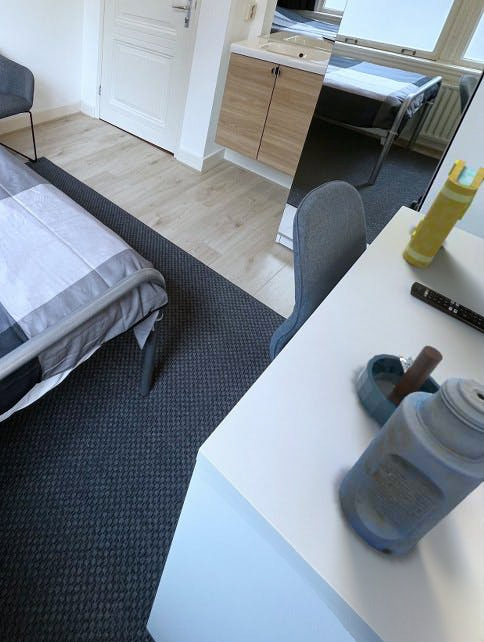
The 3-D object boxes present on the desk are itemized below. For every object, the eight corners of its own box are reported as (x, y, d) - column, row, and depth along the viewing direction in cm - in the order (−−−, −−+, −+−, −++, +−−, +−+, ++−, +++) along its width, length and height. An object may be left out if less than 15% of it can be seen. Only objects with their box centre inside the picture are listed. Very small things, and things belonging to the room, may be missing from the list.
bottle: (323, 504, 62) (416, 383, 48) (354, 461, 68) (446, 342, 53) (392, 578, 56) (524, 465, 41) (421, 525, 61) (546, 408, 47)
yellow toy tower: (414, 231, 123) (457, 158, 111) (441, 244, 118) (489, 170, 106) (398, 257, 112) (443, 179, 100) (427, 272, 108) (479, 193, 96)
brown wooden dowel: (400, 401, 76) (440, 349, 69) (403, 415, 74) (444, 362, 67) (384, 395, 77) (422, 343, 70) (386, 408, 75) (425, 355, 68)
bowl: (425, 391, 79) (440, 372, 76) (443, 460, 69) (462, 441, 66) (351, 362, 83) (363, 343, 80) (358, 423, 73) (372, 404, 70)
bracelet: (403, 409, 76) (424, 383, 72) (383, 399, 77) (402, 372, 73) (402, 378, 81) (421, 352, 77) (383, 369, 82) (401, 343, 79)
